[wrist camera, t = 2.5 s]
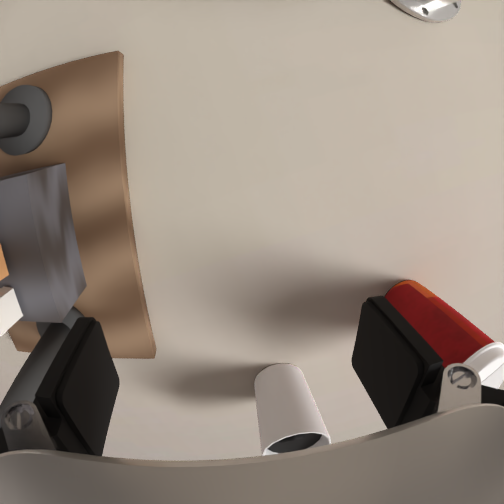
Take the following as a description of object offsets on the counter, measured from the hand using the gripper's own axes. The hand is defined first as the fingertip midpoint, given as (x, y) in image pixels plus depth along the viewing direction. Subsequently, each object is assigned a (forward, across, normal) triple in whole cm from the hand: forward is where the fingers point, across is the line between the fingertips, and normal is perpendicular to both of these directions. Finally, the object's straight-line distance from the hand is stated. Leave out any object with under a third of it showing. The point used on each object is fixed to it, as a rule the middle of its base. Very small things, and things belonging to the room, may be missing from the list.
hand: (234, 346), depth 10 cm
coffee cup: (+17, -20, +10) cm, 28 cm away
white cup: (+17, -6, +19) cm, 26 cm away
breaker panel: (+17, +16, -1) cm, 24 cm away
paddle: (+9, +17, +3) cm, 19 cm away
